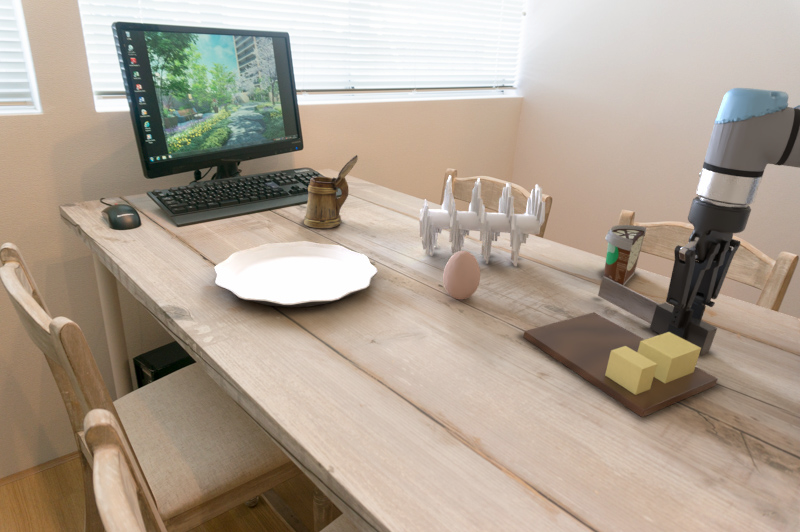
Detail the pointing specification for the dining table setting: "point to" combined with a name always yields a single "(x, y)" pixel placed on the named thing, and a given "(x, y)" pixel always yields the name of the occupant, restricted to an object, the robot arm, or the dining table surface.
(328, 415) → the dining table surface
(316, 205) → the wooden mug
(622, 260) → the food container
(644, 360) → the butter slice
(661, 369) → the butter bar
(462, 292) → the egg
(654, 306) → the knife
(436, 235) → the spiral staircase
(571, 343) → the cutting board
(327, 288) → the plate
